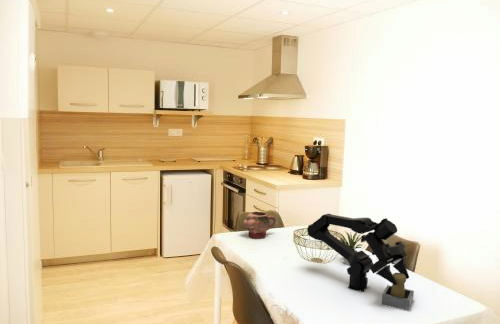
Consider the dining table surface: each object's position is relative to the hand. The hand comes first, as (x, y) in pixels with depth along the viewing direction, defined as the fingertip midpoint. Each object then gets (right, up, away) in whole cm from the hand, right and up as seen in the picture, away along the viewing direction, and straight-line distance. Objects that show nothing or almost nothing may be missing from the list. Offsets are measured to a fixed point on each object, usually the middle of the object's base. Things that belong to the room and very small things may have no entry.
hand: (402, 281), depth 157 cm
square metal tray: (-1, -9, +2) cm, 9 cm away
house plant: (-9, -4, +43) cm, 44 cm away
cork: (-1, -8, +2) cm, 9 cm away
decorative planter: (-53, +2, +84) cm, 99 cm away
